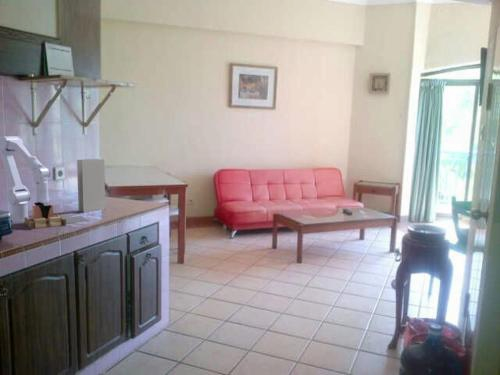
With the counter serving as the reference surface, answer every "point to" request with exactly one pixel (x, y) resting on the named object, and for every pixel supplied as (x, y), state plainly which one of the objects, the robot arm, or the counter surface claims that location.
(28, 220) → the rack
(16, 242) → the counter surface
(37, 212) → the panel
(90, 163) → the grey tall block
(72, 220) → the mat
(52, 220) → the offcut
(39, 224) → the offcut
